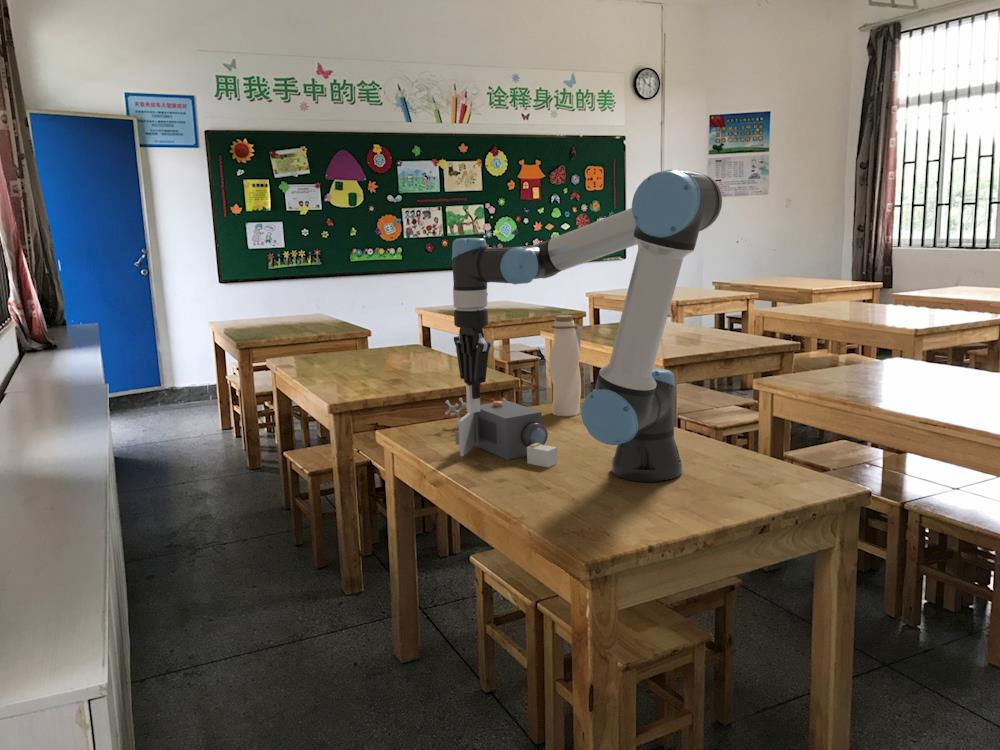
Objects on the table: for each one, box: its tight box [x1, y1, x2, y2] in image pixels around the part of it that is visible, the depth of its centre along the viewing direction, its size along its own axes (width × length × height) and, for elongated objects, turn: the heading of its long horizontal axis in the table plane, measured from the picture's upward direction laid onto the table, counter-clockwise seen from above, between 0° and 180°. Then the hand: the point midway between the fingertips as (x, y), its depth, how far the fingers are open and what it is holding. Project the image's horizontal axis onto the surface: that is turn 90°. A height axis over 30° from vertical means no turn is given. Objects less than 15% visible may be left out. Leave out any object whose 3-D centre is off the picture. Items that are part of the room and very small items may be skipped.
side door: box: [454, 412, 477, 457], centre depth 196 cm, size 12×2×8 cm, turn 166°
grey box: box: [474, 399, 549, 461], centre depth 198 cm, size 19×10×11 cm, turn 31°
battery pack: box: [526, 443, 558, 468], centre depth 187 cm, size 6×4×4 cm, turn 51°
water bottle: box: [548, 314, 582, 417], centre depth 231 cm, size 10×9×28 cm
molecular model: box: [444, 397, 507, 431], centre depth 216 cm, size 19×10×10 cm, turn 40°
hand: (473, 411), depth 186 cm, fingers closed
